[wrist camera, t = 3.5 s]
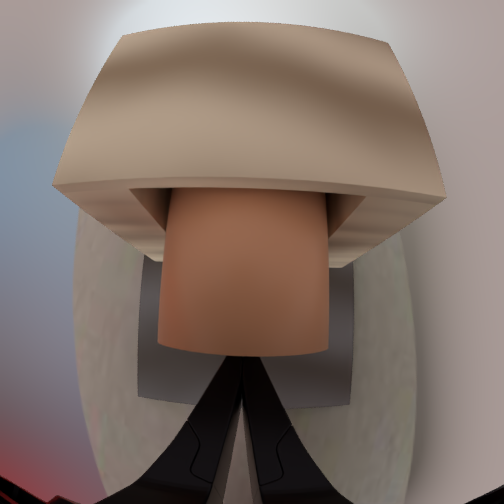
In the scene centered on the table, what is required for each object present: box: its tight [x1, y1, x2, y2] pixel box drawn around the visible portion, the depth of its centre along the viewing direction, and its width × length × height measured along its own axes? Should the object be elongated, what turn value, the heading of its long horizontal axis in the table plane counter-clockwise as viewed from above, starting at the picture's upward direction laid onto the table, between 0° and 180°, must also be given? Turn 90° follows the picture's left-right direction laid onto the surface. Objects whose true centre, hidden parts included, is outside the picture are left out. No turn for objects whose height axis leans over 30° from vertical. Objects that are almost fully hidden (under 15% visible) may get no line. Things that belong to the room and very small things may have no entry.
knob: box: [158, 187, 329, 356], centre depth 11 cm, size 7×6×6 cm
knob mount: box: [52, 22, 446, 409], centre depth 13 cm, size 18×14×12 cm
